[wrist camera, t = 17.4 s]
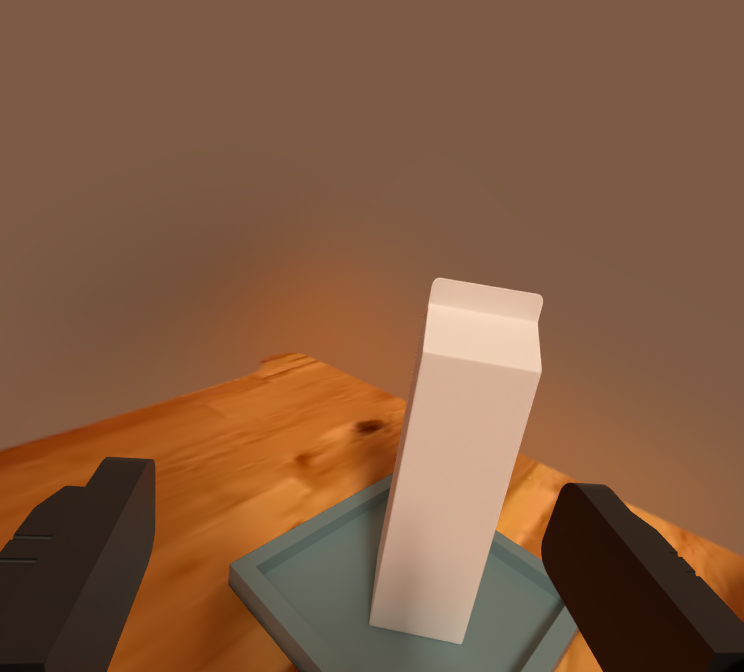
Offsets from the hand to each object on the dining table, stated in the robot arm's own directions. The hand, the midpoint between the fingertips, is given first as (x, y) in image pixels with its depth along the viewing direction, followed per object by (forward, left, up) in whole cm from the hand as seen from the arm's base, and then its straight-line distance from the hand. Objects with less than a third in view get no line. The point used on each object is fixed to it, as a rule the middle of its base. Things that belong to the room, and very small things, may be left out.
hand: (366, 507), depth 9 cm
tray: (-7, +17, -21) cm, 28 cm away
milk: (-7, +16, -21) cm, 27 cm away
